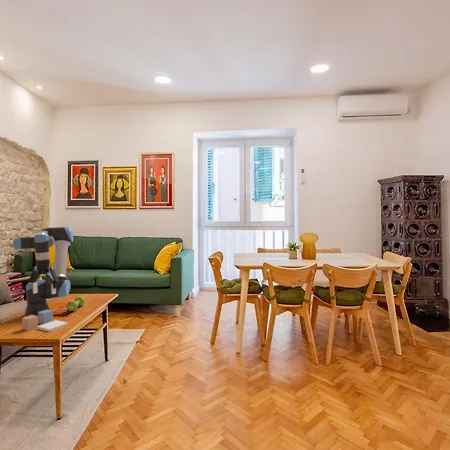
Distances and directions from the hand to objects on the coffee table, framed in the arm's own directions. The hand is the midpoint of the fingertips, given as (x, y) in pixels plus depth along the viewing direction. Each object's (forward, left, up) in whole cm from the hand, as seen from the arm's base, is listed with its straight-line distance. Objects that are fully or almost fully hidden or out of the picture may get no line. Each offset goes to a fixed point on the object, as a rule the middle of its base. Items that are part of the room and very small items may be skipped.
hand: (44, 293), depth 194 cm
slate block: (-7, +4, -20) cm, 22 cm away
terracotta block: (-5, -7, -20) cm, 22 cm away
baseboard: (+6, 0, -20) cm, 21 cm away
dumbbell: (-15, +32, -21) cm, 41 cm away
